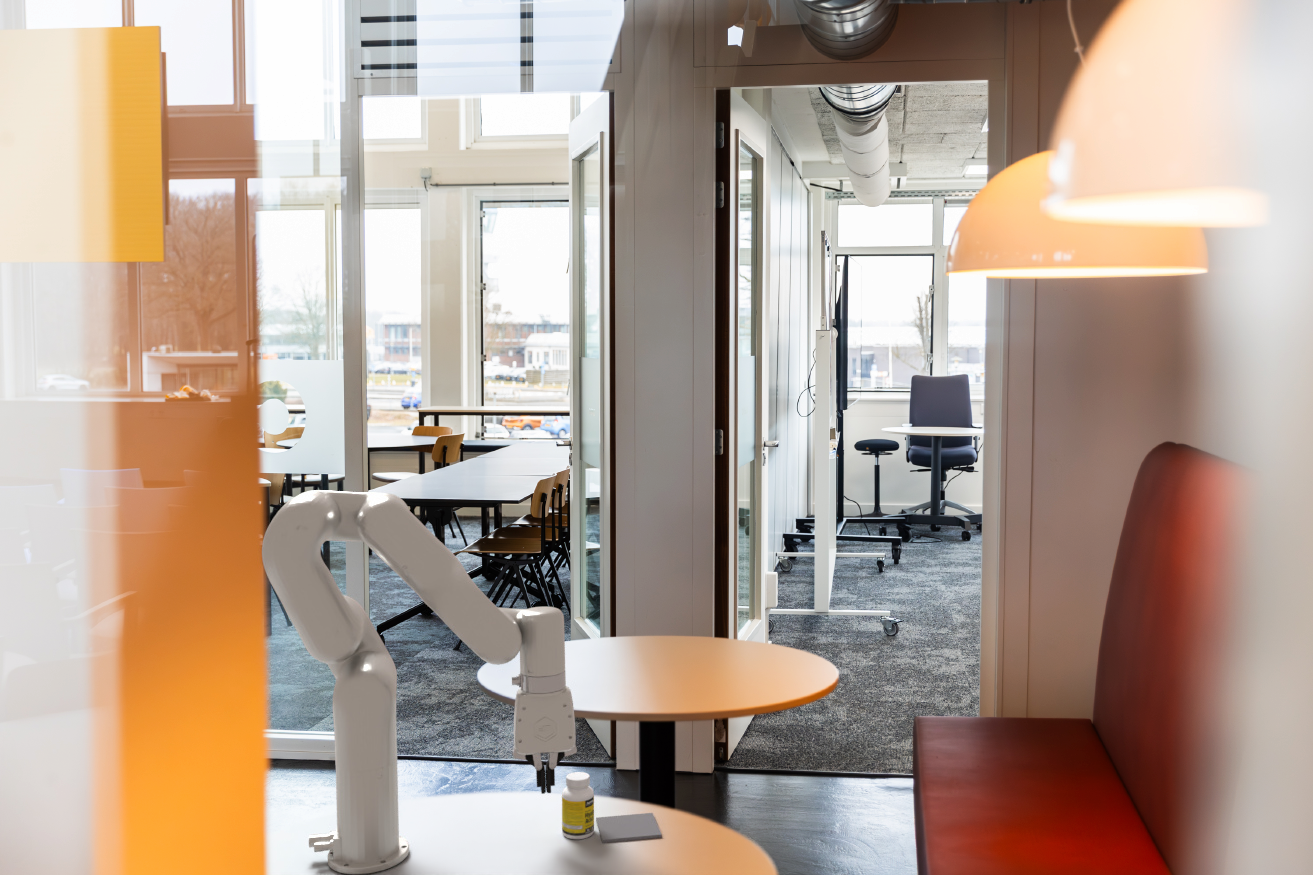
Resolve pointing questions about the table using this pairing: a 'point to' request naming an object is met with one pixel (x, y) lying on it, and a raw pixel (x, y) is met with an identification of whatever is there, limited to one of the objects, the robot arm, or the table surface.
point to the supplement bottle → (577, 806)
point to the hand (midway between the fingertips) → (545, 789)
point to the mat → (628, 827)
